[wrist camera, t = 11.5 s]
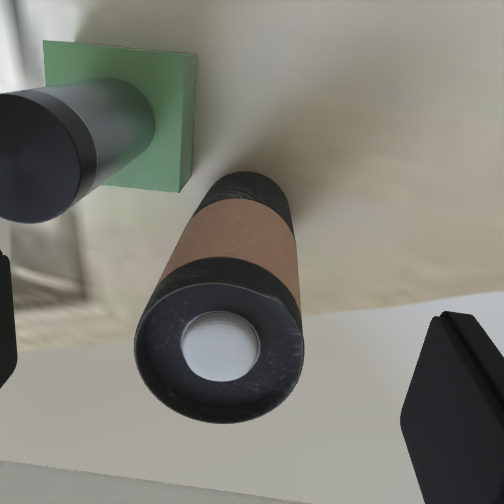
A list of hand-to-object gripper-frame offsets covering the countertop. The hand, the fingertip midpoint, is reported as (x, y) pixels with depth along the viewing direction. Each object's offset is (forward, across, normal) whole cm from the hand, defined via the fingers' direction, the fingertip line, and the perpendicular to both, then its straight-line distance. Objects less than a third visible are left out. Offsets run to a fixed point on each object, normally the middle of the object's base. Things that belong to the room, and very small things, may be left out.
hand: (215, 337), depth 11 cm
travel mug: (+28, 0, +7) cm, 29 cm away
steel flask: (+23, +10, 0) cm, 25 cm away
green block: (+28, +10, 0) cm, 30 cm away
